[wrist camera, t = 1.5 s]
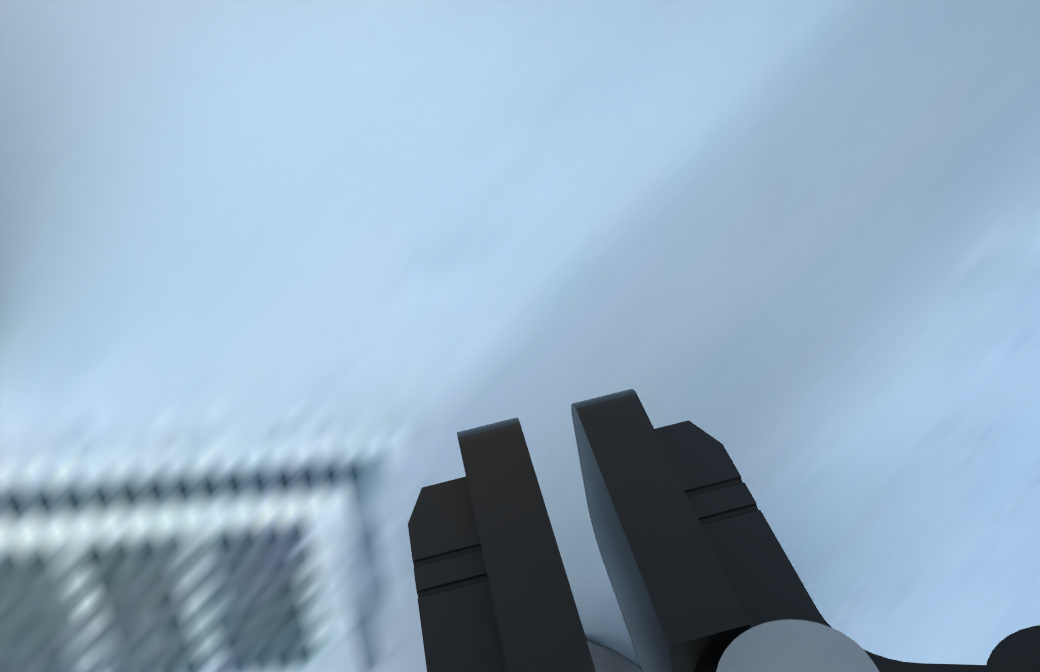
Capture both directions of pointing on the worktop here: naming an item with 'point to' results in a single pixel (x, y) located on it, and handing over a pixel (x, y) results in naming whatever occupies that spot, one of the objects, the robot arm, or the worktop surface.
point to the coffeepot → (610, 660)
